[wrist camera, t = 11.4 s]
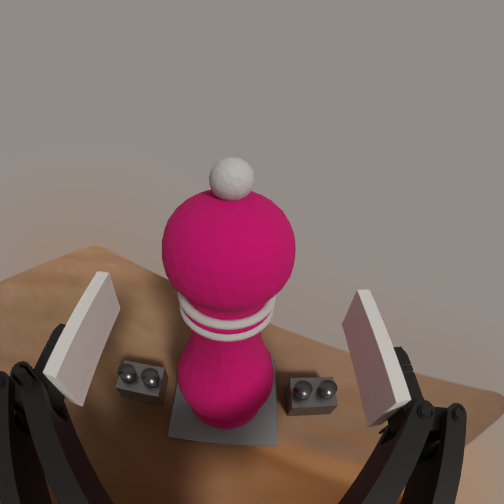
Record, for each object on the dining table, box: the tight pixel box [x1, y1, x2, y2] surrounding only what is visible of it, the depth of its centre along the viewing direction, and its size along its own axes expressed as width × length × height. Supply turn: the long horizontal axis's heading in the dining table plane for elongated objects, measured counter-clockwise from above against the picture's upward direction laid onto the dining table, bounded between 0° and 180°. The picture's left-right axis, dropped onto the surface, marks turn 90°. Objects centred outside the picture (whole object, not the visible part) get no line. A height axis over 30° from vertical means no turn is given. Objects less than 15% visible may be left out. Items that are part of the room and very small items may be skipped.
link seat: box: [168, 360, 278, 446], centre depth 21 cm, size 9×9×1 cm
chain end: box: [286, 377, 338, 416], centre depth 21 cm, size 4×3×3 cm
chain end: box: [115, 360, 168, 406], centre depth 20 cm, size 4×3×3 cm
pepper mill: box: [162, 157, 295, 429], centre depth 16 cm, size 7×7×20 cm
